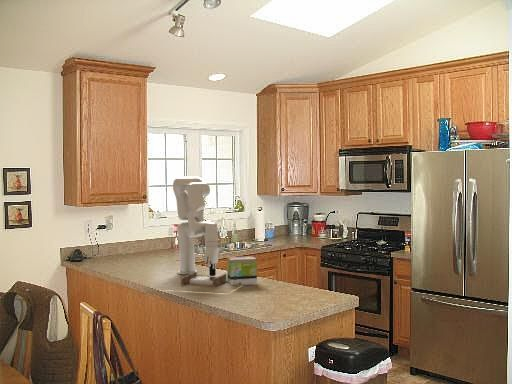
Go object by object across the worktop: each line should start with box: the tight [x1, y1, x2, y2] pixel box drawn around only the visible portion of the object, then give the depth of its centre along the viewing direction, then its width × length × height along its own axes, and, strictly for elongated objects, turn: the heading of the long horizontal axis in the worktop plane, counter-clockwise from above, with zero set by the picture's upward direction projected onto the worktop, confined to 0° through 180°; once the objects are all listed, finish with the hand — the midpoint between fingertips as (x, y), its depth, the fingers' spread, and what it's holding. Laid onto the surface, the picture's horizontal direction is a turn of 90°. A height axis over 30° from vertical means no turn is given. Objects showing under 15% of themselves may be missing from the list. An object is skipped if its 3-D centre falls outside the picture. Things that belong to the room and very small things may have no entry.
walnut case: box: [180, 272, 227, 288], centre depth 305 cm, size 17×20×5 cm
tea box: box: [226, 256, 258, 286], centre depth 305 cm, size 15×10×15 cm, turn 105°
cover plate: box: [190, 275, 217, 285], centre depth 306 cm, size 10×14×2 cm
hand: (212, 275), depth 315 cm, fingers closed
